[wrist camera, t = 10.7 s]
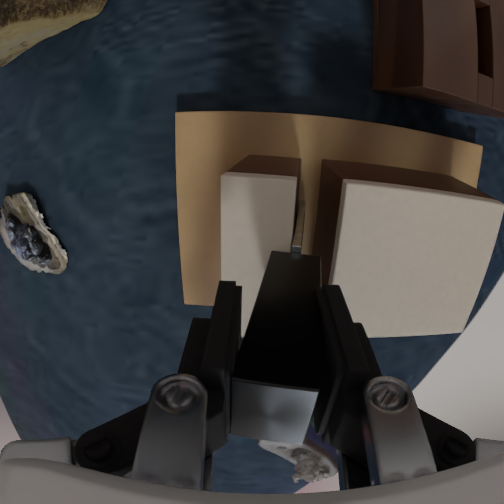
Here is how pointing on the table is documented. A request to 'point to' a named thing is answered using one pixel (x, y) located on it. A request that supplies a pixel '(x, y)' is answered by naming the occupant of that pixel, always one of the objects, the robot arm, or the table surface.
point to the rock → (39, 22)
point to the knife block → (441, 52)
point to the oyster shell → (30, 235)
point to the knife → (280, 350)
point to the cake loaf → (403, 245)
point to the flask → (307, 456)
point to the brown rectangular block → (256, 220)
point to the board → (285, 145)
